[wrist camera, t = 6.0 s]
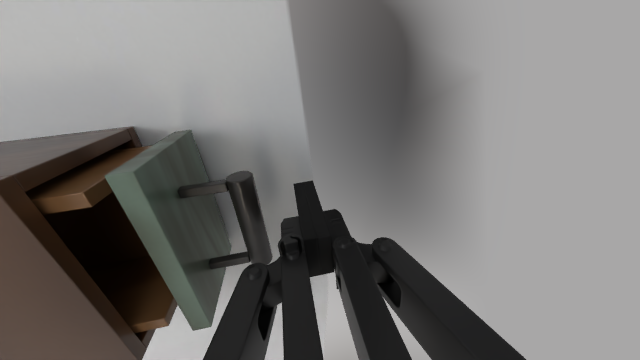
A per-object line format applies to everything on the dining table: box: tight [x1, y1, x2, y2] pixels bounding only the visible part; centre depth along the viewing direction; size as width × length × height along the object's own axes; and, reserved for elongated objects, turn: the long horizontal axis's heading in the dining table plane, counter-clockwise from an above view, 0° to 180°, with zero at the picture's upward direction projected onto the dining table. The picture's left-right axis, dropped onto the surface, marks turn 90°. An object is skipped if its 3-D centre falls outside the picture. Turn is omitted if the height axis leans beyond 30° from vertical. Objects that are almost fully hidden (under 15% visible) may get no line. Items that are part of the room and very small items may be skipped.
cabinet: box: [0, 127, 156, 360], centre depth 15 cm, size 15×13×10 cm
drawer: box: [25, 130, 273, 333], centre depth 15 cm, size 18×11×8 cm, turn 95°
